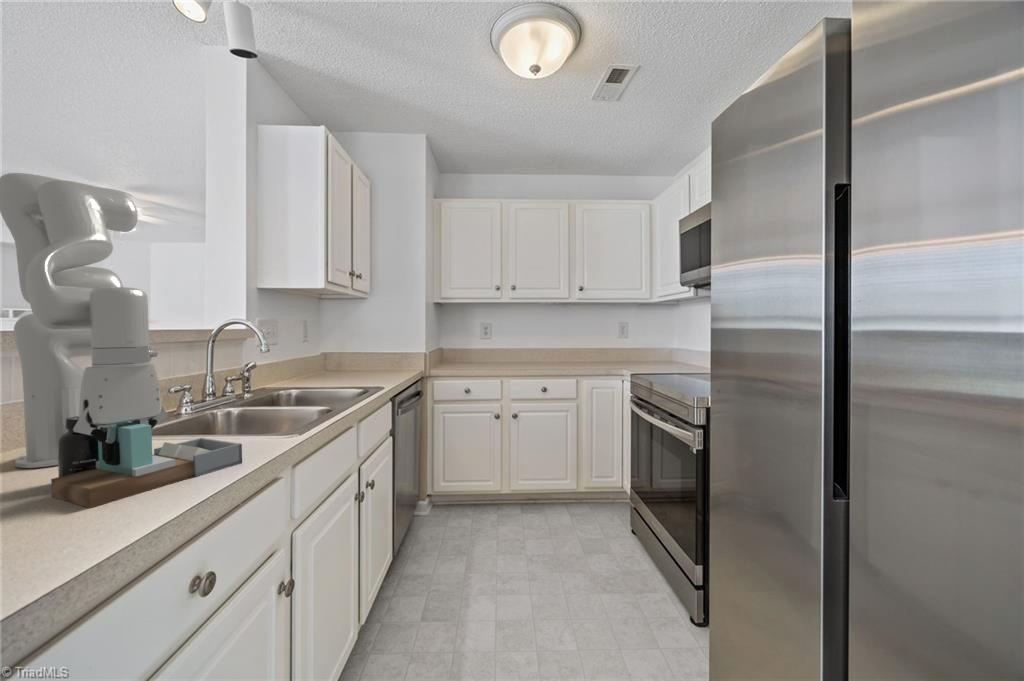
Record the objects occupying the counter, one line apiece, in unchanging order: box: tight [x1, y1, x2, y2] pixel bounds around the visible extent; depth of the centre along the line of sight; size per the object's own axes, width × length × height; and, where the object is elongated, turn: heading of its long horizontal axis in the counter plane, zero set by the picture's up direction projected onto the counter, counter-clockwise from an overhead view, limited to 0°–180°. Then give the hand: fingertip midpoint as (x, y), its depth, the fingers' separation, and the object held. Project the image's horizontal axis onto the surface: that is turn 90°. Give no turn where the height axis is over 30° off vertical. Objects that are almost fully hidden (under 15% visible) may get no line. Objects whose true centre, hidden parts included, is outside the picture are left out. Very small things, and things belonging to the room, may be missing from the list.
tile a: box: [158, 441, 182, 458], centre depth 86 cm, size 5×5×2 cm
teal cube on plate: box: [96, 422, 175, 476], centre depth 76 cm, size 12×6×8 cm, turn 68°
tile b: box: [176, 445, 210, 461], centre depth 84 cm, size 5×5×2 cm
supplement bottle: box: [57, 416, 99, 477], centre depth 78 cm, size 7×7×12 cm
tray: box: [153, 437, 243, 478], centre depth 86 cm, size 13×9×4 cm
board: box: [50, 454, 195, 509], centre depth 75 cm, size 12×15×3 cm
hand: (125, 460), depth 75 cm, fingers closed on teal cube on plate, 3 cm apart
